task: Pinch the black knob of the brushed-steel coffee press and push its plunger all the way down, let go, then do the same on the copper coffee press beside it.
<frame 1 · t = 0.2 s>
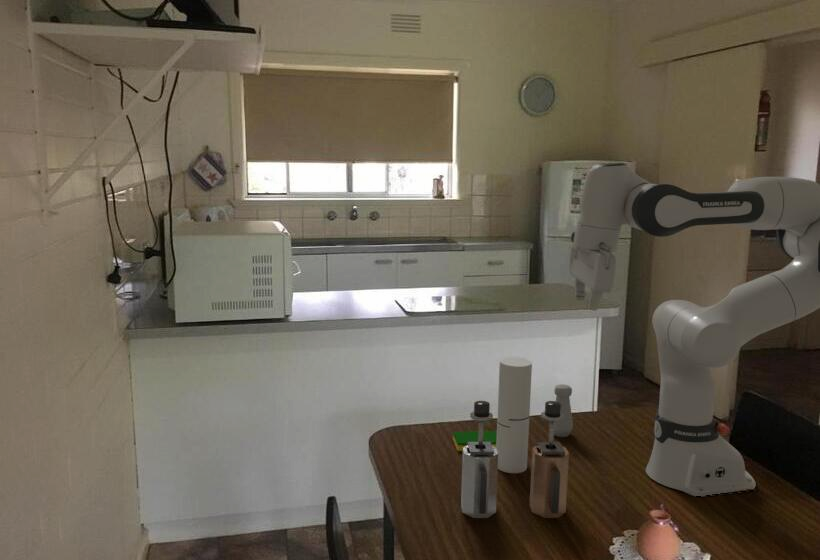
hand: (585, 304, 141), 39 cm above the table, tool pointing down, fingers open, 8 cm apart
salt shaker: (560, 434, 171), on the table
steel press carafe: (478, 509, 134), on the table
dish sponge: (482, 446, 164), on the table
cylindrical container: (511, 466, 153), on the table
copper press plunger: (551, 433, 131), point 16 cm above the table, slide at 0.0 cm
copper press carafe: (547, 508, 134), on the table
steel press plunger: (480, 433, 131), point 16 cm above the table, slide at 0.0 cm
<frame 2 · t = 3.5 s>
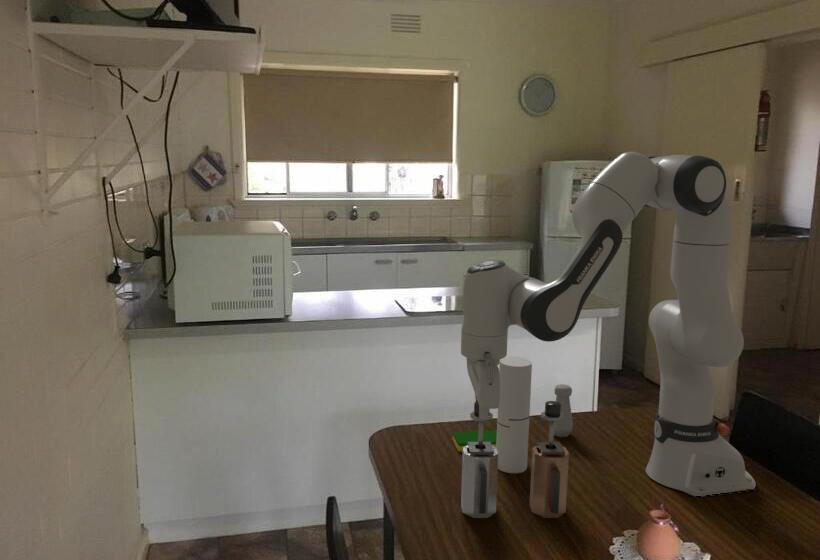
hand: (481, 413, 130), 20 cm above the table, tool pointing down, fingers closed on steel press plunger, 3 cm apart
steel press plunger: (480, 433, 131), point 16 cm above the table, slide at 0.0 cm, touching gripper
everything else where it was.
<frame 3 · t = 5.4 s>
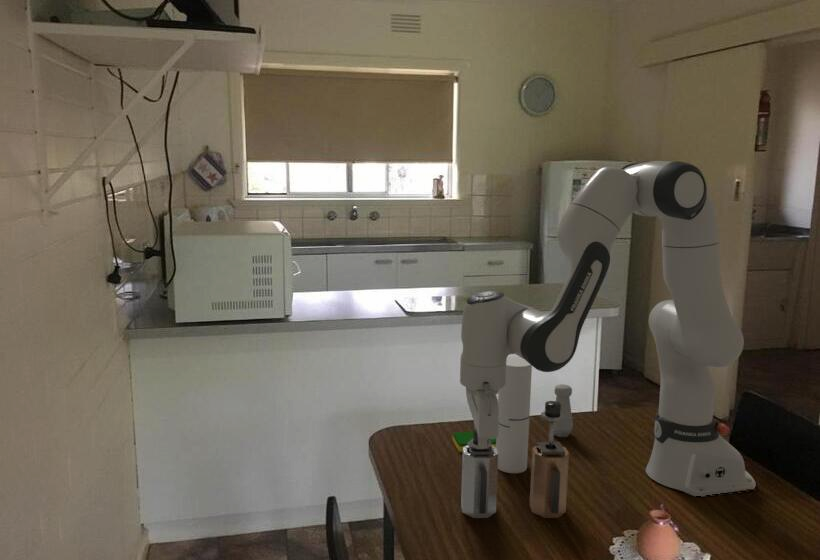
hand: (480, 441, 131), 14 cm above the table, tool pointing down, fingers closed on steel press plunger, 3 cm apart
steel press plunger: (479, 461, 132), point 10 cm above the table, slide at 5.9 cm, touching gripper
everything else where it was.
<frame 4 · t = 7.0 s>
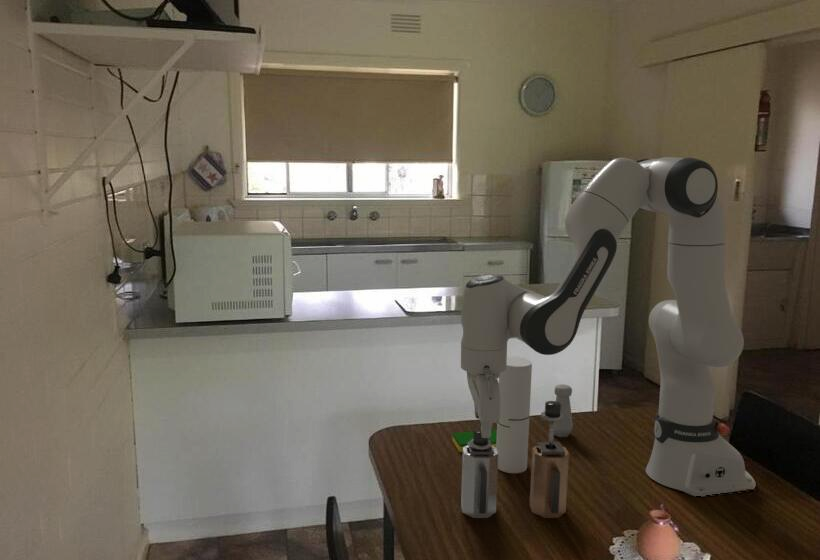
hand: (482, 426, 131), 18 cm above the table, tool pointing down, fingers open, 8 cm apart
steel press plunger: (479, 461, 132), point 10 cm above the table, slide at 5.9 cm
everything else where it was.
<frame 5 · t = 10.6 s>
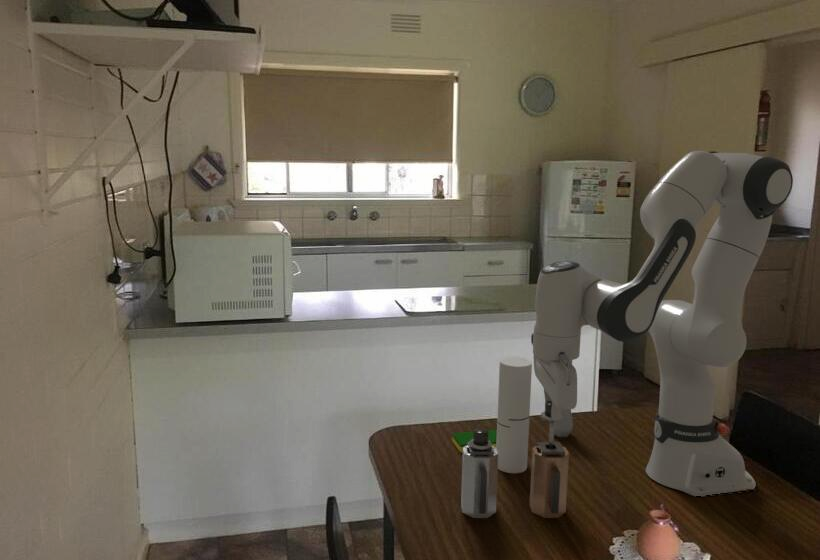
hand: (552, 413, 130), 20 cm above the table, tool pointing down, fingers closed on copper press plunger, 3 cm apart
copper press plunger: (551, 433, 131), point 16 cm above the table, slide at 0.0 cm, touching gripper
everything else where it was.
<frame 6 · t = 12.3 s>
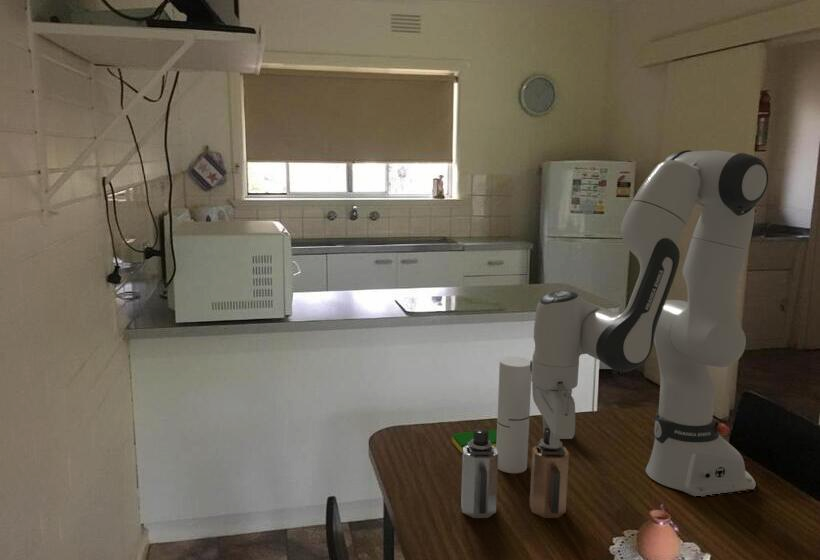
hand: (550, 441, 132), 15 cm above the table, tool pointing down, fingers closed on copper press plunger, 3 cm apart
copper press plunger: (550, 460, 132), point 10 cm above the table, slide at 5.8 cm, touching gripper
everything else where it was.
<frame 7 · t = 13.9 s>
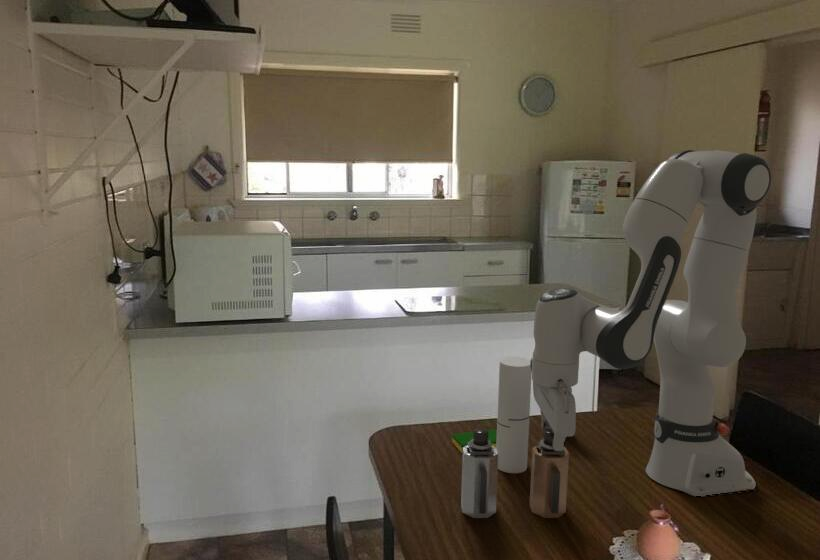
hand: (551, 439, 132), 15 cm above the table, tool pointing down, fingers open, 8 cm apart
copper press plunger: (549, 461, 132), point 10 cm above the table, slide at 5.9 cm
everything else where it was.
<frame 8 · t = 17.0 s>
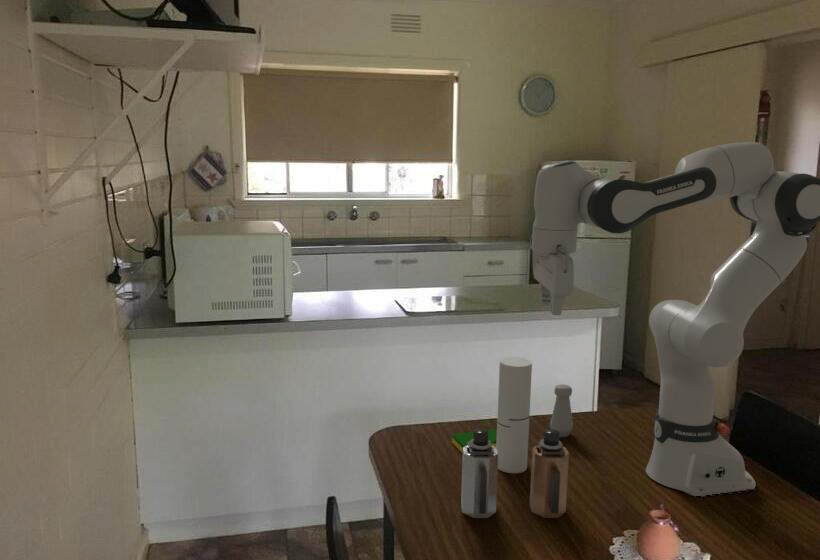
hand: (550, 309, 137), 39 cm above the table, tool pointing down, fingers open, 8 cm apart
nothing on the table moved.
at the end: steel press plunger slide at 5.9 cm; copper press plunger slide at 5.9 cm; the gripper is holding nothing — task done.
